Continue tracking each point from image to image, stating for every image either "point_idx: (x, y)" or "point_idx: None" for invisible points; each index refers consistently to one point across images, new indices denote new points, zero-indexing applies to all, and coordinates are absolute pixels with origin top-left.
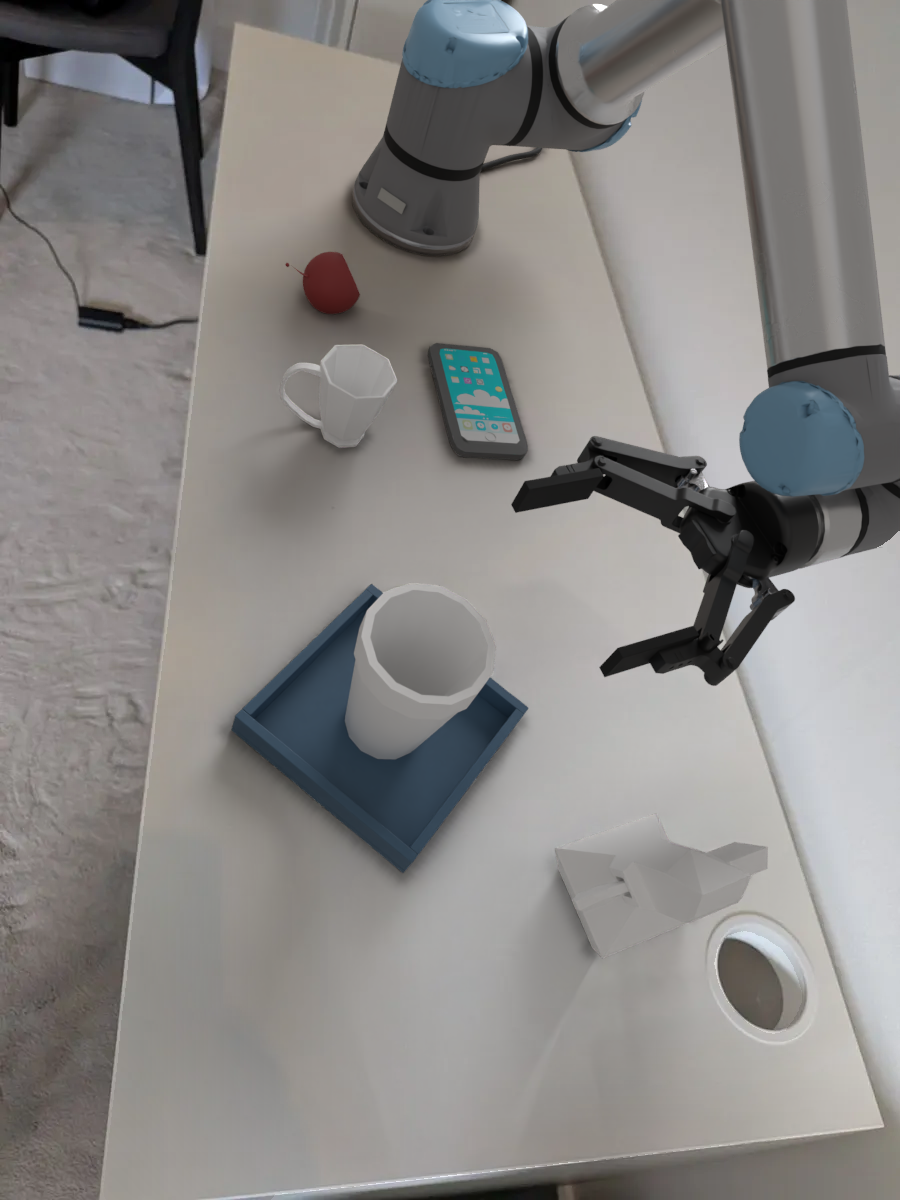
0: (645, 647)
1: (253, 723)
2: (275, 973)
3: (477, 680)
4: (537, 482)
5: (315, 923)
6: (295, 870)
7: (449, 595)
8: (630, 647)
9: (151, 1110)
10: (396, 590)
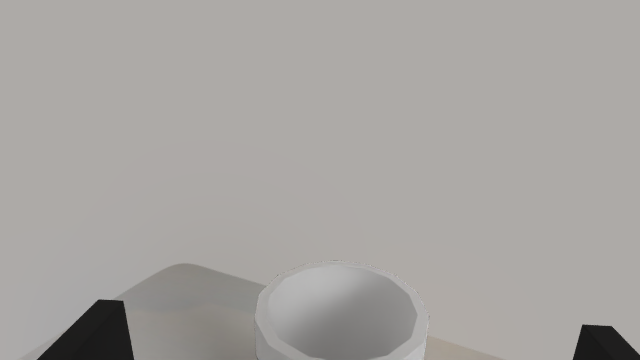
0: (56, 351)
1: None
2: (200, 324)
3: (269, 324)
4: (625, 352)
5: (207, 351)
6: (248, 353)
7: (404, 347)
8: (95, 321)
9: (192, 273)
10: (418, 302)
